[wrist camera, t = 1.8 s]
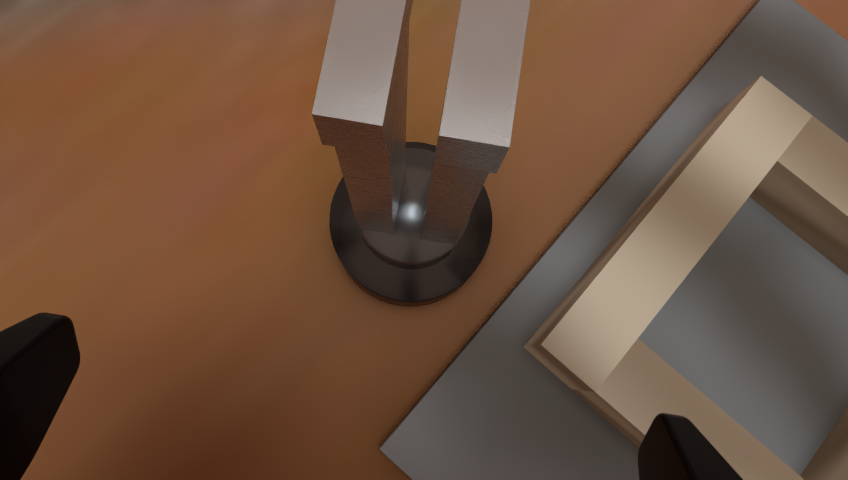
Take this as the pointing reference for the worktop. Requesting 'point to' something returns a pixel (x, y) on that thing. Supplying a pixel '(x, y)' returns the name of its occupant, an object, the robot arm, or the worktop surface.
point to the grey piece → (416, 145)
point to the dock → (678, 291)
